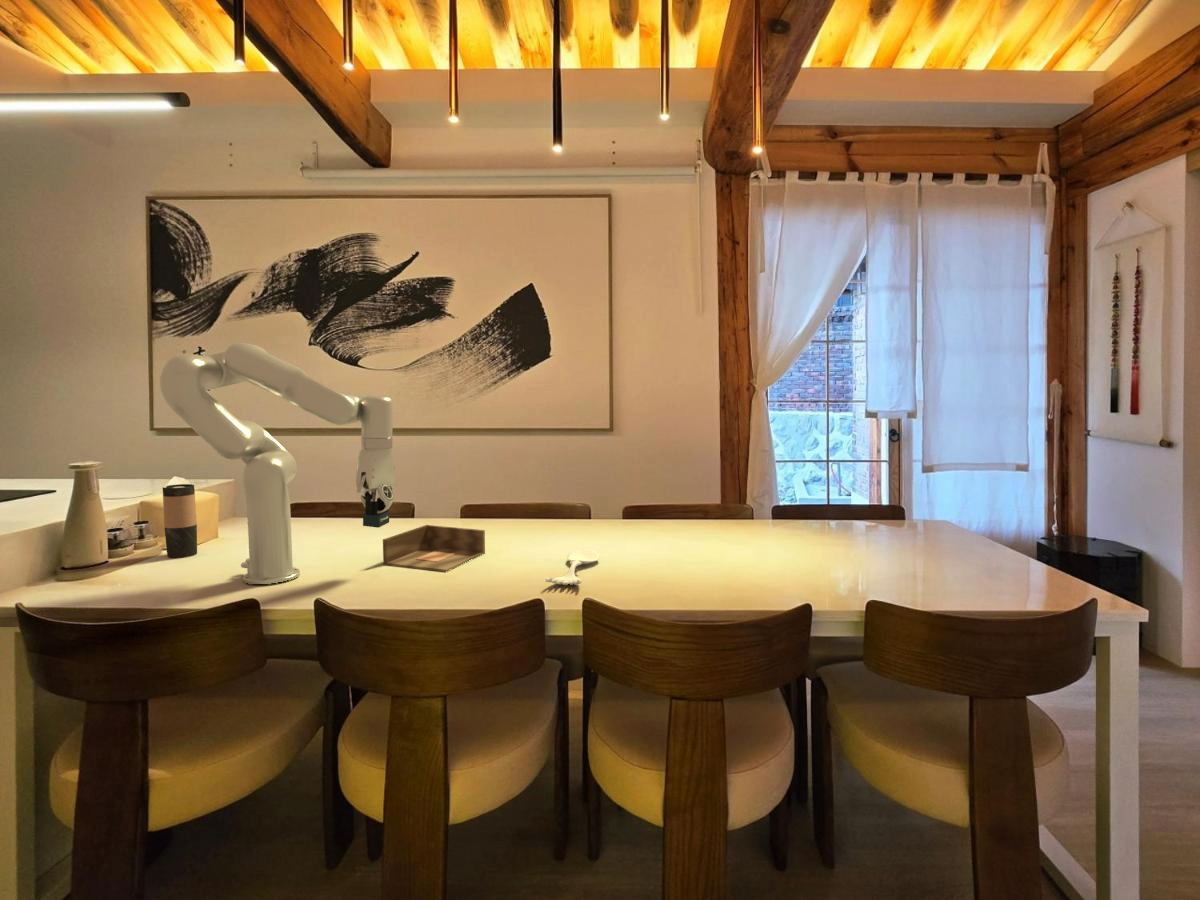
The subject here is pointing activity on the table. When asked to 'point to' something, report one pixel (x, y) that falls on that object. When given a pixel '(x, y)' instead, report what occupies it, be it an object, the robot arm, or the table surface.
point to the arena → (433, 547)
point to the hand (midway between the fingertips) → (376, 514)
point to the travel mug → (180, 520)
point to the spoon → (575, 560)
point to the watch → (380, 518)
